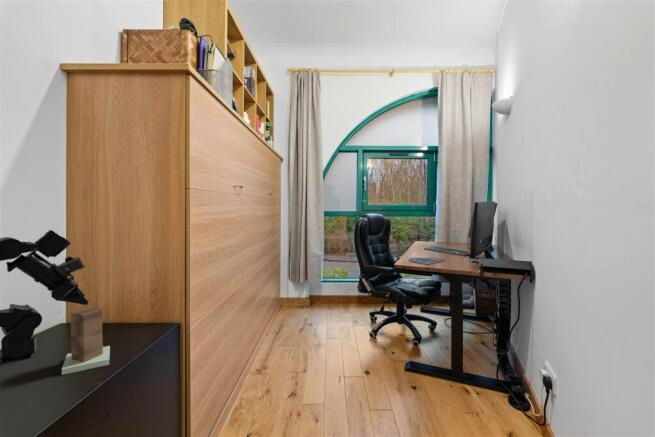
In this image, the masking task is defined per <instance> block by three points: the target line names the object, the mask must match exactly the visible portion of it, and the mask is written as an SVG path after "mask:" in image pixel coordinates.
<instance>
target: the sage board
mask: <svg viewBox="0 0 655 437" xmlns="http://www.w3.org/2000/svg"><path fill="white" fill-rule="evenodd" d="M110 354H111V346H110V345H107V346H103V354H102V355H100V356H98V357H95V358H93V359H91V360H89V361H86V362H81V361H77V360H73V359H72V352H71V353H67V354H66V356H65V360H64V361H63V365H62V367H61V375H62V376H63V375H69V374H73V373H78V372H82V371H87V370H91V369H95V368H96V369H97V368H100V367H105V366H108V365H109V366H110Z"/></svg>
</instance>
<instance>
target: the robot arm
mask: <svg viewBox="0 0 655 437" xmlns="http://www.w3.org/2000/svg"><path fill="white" fill-rule="evenodd" d="M71 245H72V243H71V242H70V241H69V240H68V239H67V238H66V237H63V236H61V235H59V234H58V233H57V232H56V231H54V230H53V229H49V230H47V232H45V233H44V235H42V236H41V237H39V238H38V239H37V240H36V241H35V242H31V241H20V240H19V239H17V238H14V237H11V236H10V237H9V236H5V237H1V238H0V262H2V261H6V263H5V264H6V271H7V272H8V273H10V272H12V271H13V270H14V269H16V268H17V269H18V270H19V271H20V272H22V273H24V274H25V275H27V276H29V277H30V278H31V279H33V281H34V282H35V283H39V284H41V285H42V286H43V287H45V288H46V289H47V290H48V291H49V292H50V295H51V296H50V297H51V298H52V299H53V300H55V301H57V302H58V301H59V302H65V303H71V304H78V305H84V306H87V305H88V304H89V301H88V300H87V298H85V296H86V295H85V294H84V293H83V291H82V290H81V289H80V287H79V284H78V282H77V281H75V277H74V275H73V274H72V273H74V272H76V271H78V270H83V269H84V268H85V264H84V263H83V261H82V260H81V257H80V256H76V257H74V256H71V255H68V256H67V257H65V258H64V262H62V263H60V264H58V265H57V264H56V263H52V262H50V261H48V259H49V258H56V257H57V256H58V255H60V254H61V253H62V252H64V251H65V250H66V249H67V248H68V247H70V246H71ZM37 252H39V254H38V253H37ZM25 253H28V254H26V255H24V254H25ZM40 254H41V255H43V256H44V257H45V258H47V259H45V258H44V257H42V256H41V255H40ZM13 259H14V260H13ZM9 260H12V261H9ZM68 277H69V278H68ZM42 322H43V317H42V315H41V313H40V312H39V311H38V310H37V309H35V308H34V307H32V306H30V305H29V304H24V305H23V304H22V305H20V304H15V303H10V304H9V308H5V309H0V329H1V332H2V333H3V335H4V336H3V337H2V338H1V341H0V344H1V345H0V348H1V359H0V364H7V363H11V362H17V361H22V360H27V359H30V358H32V357H33V355H34V354H35V353H36V351H37V336H34V332H35V330H36V329H37V328H38V327H40V326H41V323H42Z"/></svg>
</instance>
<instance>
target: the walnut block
mask: <svg viewBox="0 0 655 437" xmlns="http://www.w3.org/2000/svg"><path fill="white" fill-rule="evenodd" d="M103 340H104V339H103V308H96V307H91V306H90V307H85V308H83V309H78V310H75V311H72V312H70V343H71V353H72V359H73V360H77V361H81V362H86V361H89V360H91V359H93V358H95V357H98V356H100V355H102V354H103V347H104V345H103V344H104V342H103Z"/></svg>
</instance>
